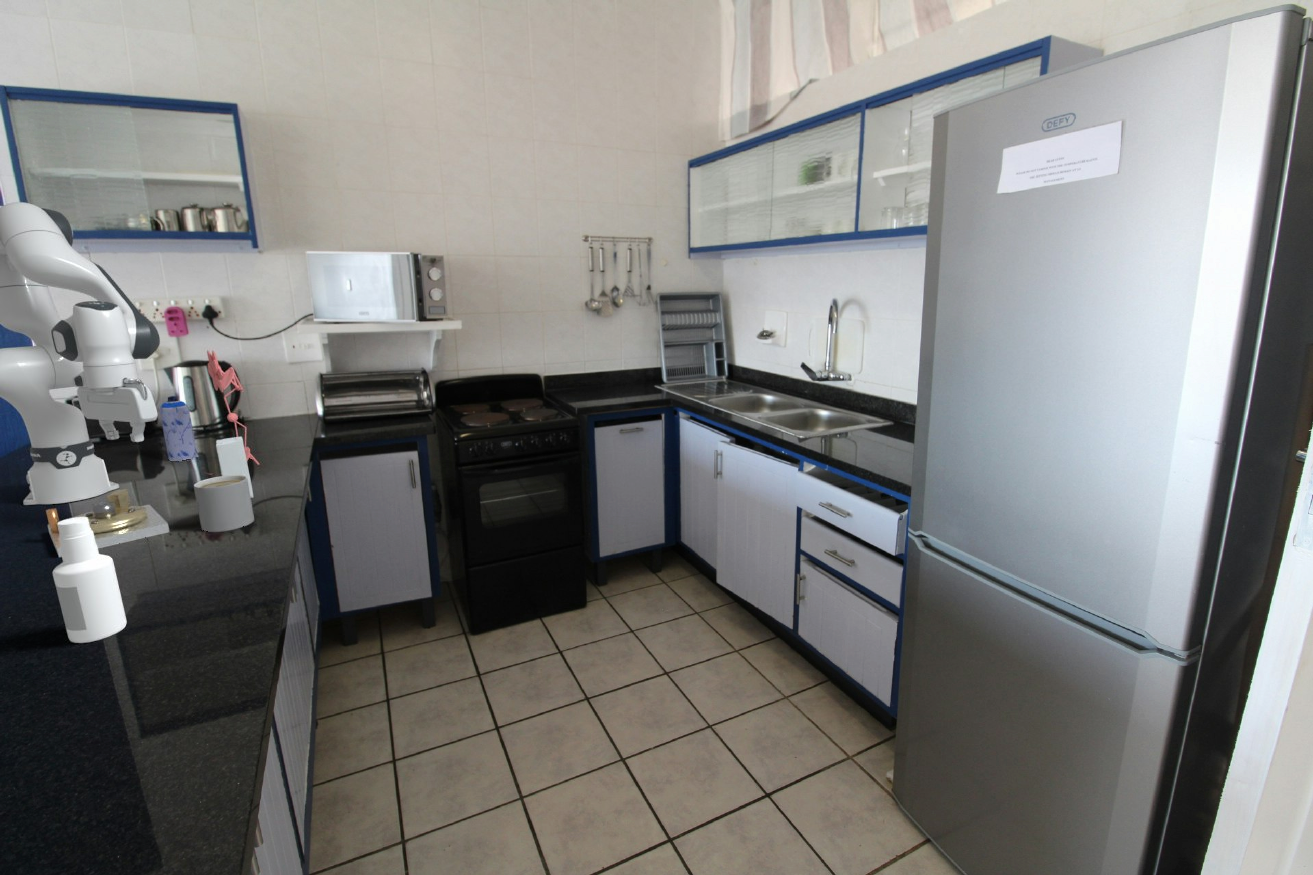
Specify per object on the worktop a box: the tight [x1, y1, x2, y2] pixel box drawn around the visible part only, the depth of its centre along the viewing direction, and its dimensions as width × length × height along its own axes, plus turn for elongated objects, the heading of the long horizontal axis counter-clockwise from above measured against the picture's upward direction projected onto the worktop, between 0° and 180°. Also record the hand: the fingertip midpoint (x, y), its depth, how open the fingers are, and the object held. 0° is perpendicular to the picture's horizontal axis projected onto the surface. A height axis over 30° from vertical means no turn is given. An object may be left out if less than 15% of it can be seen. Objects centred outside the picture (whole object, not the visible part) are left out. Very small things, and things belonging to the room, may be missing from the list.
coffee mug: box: [193, 475, 255, 533], centre depth 146 cm, size 13×10×10 cm
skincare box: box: [215, 436, 254, 499], centre depth 165 cm, size 8×6×15 cm
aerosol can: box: [159, 395, 199, 462], centre depth 205 cm, size 8×8×20 cm
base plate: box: [45, 504, 170, 558], centre depth 141 cm, size 20×18×7 cm
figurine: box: [201, 350, 260, 475], centre depth 192 cm, size 15×26×35 cm, turn 42°
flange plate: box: [72, 488, 147, 533], centre depth 142 cm, size 16×14×5 cm
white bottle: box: [52, 516, 128, 644], centre depth 97 cm, size 7×7×18 cm
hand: (125, 440), depth 144 cm, fingers open, 7 cm apart
